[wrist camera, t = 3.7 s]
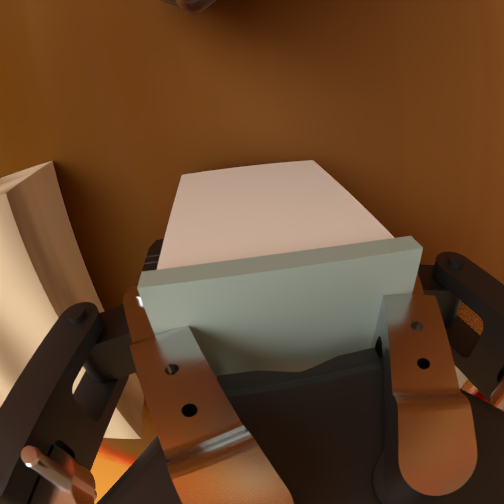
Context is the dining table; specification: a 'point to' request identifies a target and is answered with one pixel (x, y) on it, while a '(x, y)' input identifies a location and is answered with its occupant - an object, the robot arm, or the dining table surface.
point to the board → (45, 283)
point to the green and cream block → (274, 268)
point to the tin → (191, 5)
